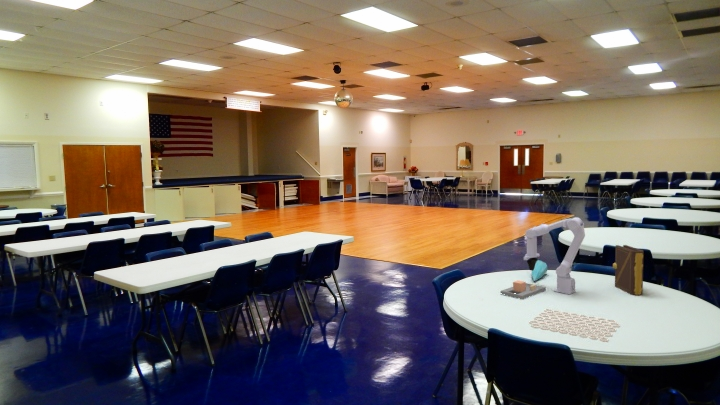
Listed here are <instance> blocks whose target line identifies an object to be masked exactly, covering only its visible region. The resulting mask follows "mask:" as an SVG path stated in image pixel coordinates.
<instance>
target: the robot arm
mask: <svg viewBox="0 0 720 405" xmlns="http://www.w3.org/2000/svg"><path fill="white" fill-rule="evenodd" d="M584 226H585V223H584V221H583V220H582V219H581V218H580V217H578V216H575V217H570V218H564V219H561V220H559V221H556V222H553V223H550V224H547V223H541V224H539V225H538V226H532V227H531V228H528V229H527V230H526V231H525V236H526V254H524V256H523V261H526V263H527V265H528V269H529V271H532V270H534V267H535V264H536V262H537V261H538V260H539V259H538V258H539V257H540V252H539V253H538V249H537V248H538V247H537V246H538V245H537V244H538V241H537V240H538V239H537V238H538V237H540V236H543V235H545V234H546V235H547V234H549V233H550V231H552V230H555V229H558V228H561V227H562V228H566V229H569V231H571V233H572V234H573V238H572V241H571V243H570V245H569V247H568V250H567V252H566V254H565V256H564V257H563V260H562V262H560V265H559V266H558V267H557V268H556V269H555V273H556V289H554V290H553V292H556V293H562V294H566V295H571V294H573V293H576V292H577V291H576V279H575V278H574V277H572V276H571V274H570V273H571V272H572V266H573V262H574V260H575V258H576V256H577V254H578V251H579V249H580V247H581V245H582V243H583V242H584V239H585V236H586V233H585V227H584Z"/></svg>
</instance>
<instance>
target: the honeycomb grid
mask: <svg viewBox="0 0 720 405" xmlns="http://www.w3.org/2000/svg"><path fill="white" fill-rule="evenodd" d="M543 311H544V312H540V313H539V314H538V315H539V316H535V317H533V319H534V320H529V321H528V323H529V324H528V325H530V327H532V328H533V329H540V330H544V331H550V332H553V333H558V332H559V333H561V334H564V335H565V334H566V335H567V334H568V335H570V336H579V337H581V338H583V339H584V338H589V339H591V340H594V341H595V340H596V341H597V340H599V341H601V342H604V343H606V342H607V343H608V342H609V341H610V340H609V339H610V337H613V333H616V331H617V328H620V326H621V324H619V322H618V321H616V320H614V319H606V318H603V317H596V316H591V315H590V316H588V315H585V314H578V313H570V312H568V311H560V310H553V309H550V308H544V310H543ZM607 337H609V338H607Z"/></svg>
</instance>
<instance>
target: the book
mask: <svg viewBox="0 0 720 405" xmlns="http://www.w3.org/2000/svg"><path fill="white" fill-rule="evenodd" d="M614 252H615V256H614V257H615V258H614V263H612V268H613V269H614V287H615V288H617V289H619V290H621V291H623V292H625V293H626V294H628V295H631V296H643V292H644V291H643V289H644V283H643V282H644V256H645V255H644V250H643V249H640V248H636V247H633V246H630V245H627V244H623V245H622V246H621V245H619V244H615V251H614Z"/></svg>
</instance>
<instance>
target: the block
mask: <svg viewBox="0 0 720 405" xmlns="http://www.w3.org/2000/svg"><path fill="white" fill-rule="evenodd" d="M526 283H527V282H526V281H524V280H514V281H513V282H512V287H513V290H514V291H518V292H523V291H525V290H526Z"/></svg>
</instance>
